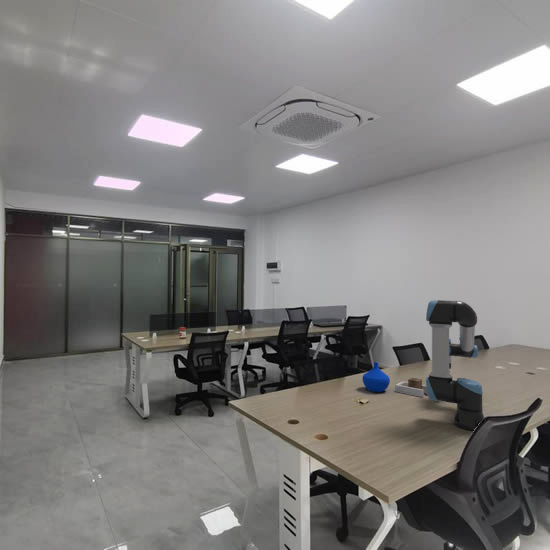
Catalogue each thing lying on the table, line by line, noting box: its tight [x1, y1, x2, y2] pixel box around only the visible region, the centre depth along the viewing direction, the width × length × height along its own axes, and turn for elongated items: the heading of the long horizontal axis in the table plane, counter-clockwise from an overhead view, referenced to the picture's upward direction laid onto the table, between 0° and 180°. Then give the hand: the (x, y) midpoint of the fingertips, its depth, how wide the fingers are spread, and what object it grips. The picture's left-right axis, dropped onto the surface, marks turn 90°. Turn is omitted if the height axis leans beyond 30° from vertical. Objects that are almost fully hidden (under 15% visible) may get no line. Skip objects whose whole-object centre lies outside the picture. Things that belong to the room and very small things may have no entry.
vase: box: [362, 361, 391, 393], centre depth 248 cm, size 18×18×19 cm
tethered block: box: [407, 377, 428, 396], centre depth 237 cm, size 25×7×10 cm, turn 49°
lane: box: [394, 381, 427, 398], centre depth 244 cm, size 19×13×4 cm
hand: (444, 398), depth 230 cm, fingers closed on tethered block, 4 cm apart
